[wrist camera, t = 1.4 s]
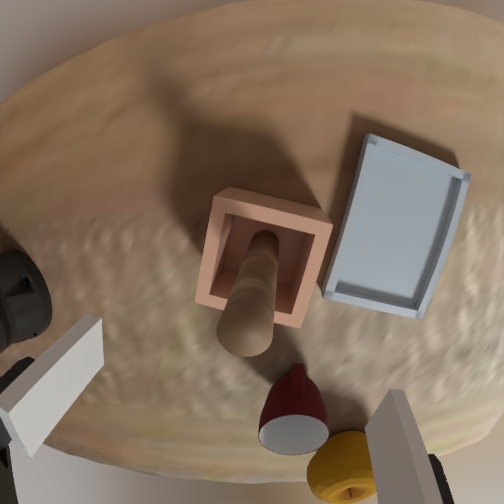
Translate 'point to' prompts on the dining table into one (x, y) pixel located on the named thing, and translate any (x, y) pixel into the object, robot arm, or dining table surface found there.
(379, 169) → the tray
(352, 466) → the apple
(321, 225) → the pink open square box
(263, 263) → the dowel
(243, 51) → the dining table surface
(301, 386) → the mug
